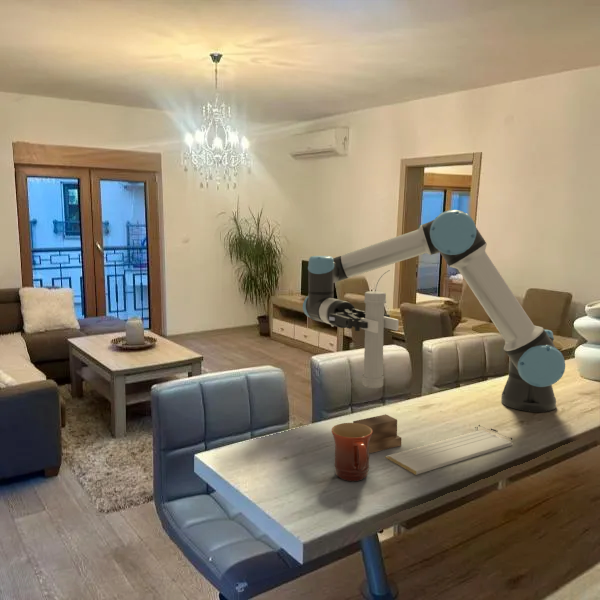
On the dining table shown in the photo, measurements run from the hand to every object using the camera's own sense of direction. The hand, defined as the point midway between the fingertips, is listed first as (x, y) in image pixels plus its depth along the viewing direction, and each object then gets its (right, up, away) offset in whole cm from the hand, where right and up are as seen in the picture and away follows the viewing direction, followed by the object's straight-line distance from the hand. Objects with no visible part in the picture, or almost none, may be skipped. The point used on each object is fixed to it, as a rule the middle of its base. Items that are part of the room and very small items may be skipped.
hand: (387, 326), depth 133 cm
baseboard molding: (+14, -30, -3) cm, 34 cm away
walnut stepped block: (-3, -29, +1) cm, 29 cm away
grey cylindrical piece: (-2, -16, +7) cm, 17 cm away
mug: (-10, -32, -17) cm, 38 cm away
